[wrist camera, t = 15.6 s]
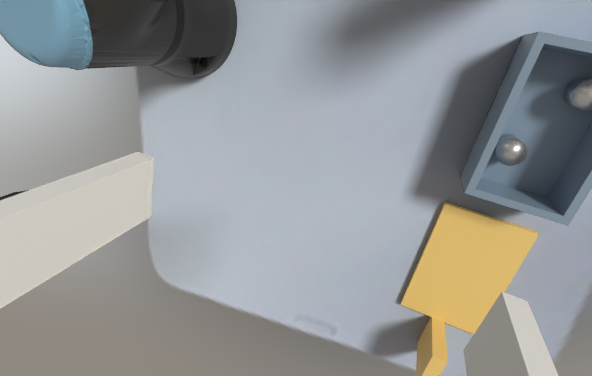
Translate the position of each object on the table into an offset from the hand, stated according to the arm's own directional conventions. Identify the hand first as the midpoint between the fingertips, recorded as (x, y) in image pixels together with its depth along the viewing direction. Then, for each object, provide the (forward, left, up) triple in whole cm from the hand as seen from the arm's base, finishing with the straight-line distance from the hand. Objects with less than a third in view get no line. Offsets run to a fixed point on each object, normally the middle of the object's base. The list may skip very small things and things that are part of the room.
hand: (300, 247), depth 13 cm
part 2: (+17, +7, -33) cm, 38 cm away
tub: (+15, +3, -34) cm, 37 cm away
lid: (+15, -20, -34) cm, 42 cm away
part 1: (+13, 0, -33) cm, 35 cm away
